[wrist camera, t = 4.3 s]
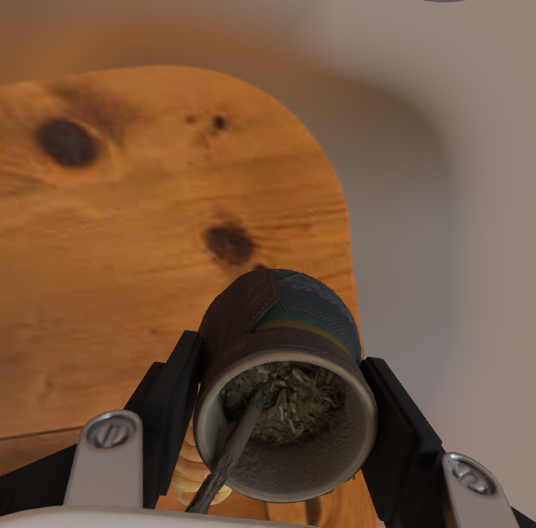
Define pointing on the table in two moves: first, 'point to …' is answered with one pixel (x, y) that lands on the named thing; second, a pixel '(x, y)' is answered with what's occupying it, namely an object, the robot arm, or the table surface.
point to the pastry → (192, 472)
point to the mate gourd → (280, 391)
